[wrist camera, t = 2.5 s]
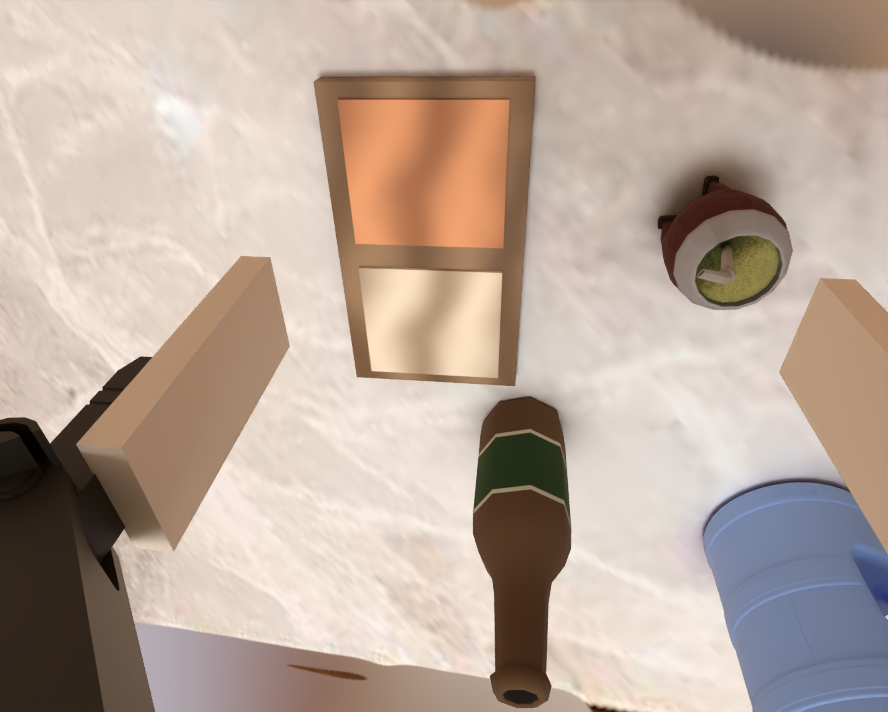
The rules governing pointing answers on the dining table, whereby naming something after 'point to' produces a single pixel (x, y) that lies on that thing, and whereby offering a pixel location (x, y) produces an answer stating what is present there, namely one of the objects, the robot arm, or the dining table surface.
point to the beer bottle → (522, 538)
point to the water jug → (803, 598)
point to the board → (430, 220)
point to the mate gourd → (725, 248)
